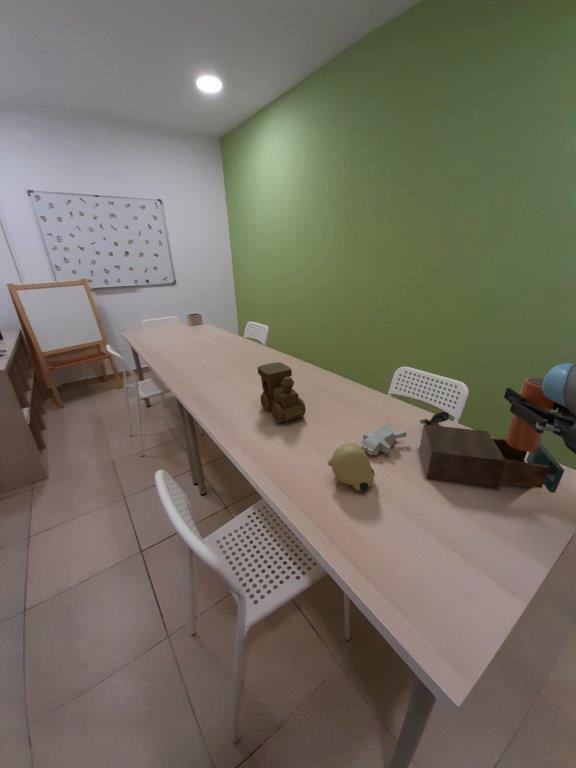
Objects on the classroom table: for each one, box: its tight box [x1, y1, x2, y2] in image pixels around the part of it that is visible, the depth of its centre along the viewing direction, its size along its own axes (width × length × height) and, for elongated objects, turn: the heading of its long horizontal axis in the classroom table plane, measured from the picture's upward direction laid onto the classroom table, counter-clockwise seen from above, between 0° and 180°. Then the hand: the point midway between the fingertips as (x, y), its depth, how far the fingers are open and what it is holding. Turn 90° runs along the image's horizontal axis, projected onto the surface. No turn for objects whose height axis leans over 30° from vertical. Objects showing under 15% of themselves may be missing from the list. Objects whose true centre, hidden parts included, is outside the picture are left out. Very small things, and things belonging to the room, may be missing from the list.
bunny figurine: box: [360, 422, 408, 456], centre depth 92 cm, size 10×5×15 cm
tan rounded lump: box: [327, 442, 376, 492], centre depth 77 cm, size 10×12×11 cm
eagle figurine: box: [419, 411, 450, 426], centre depth 99 cm, size 8×7×9 cm
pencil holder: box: [505, 376, 555, 453], centre depth 72 cm, size 7×7×17 cm
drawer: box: [492, 437, 565, 494], centre depth 78 cm, size 17×12×7 cm
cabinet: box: [419, 424, 507, 490], centre depth 81 cm, size 17×14×9 cm
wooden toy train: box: [257, 361, 307, 424], centre depth 111 cm, size 20×11×17 cm, turn 29°
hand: (522, 392), depth 76 cm, fingers closed on pencil holder, 7 cm apart
